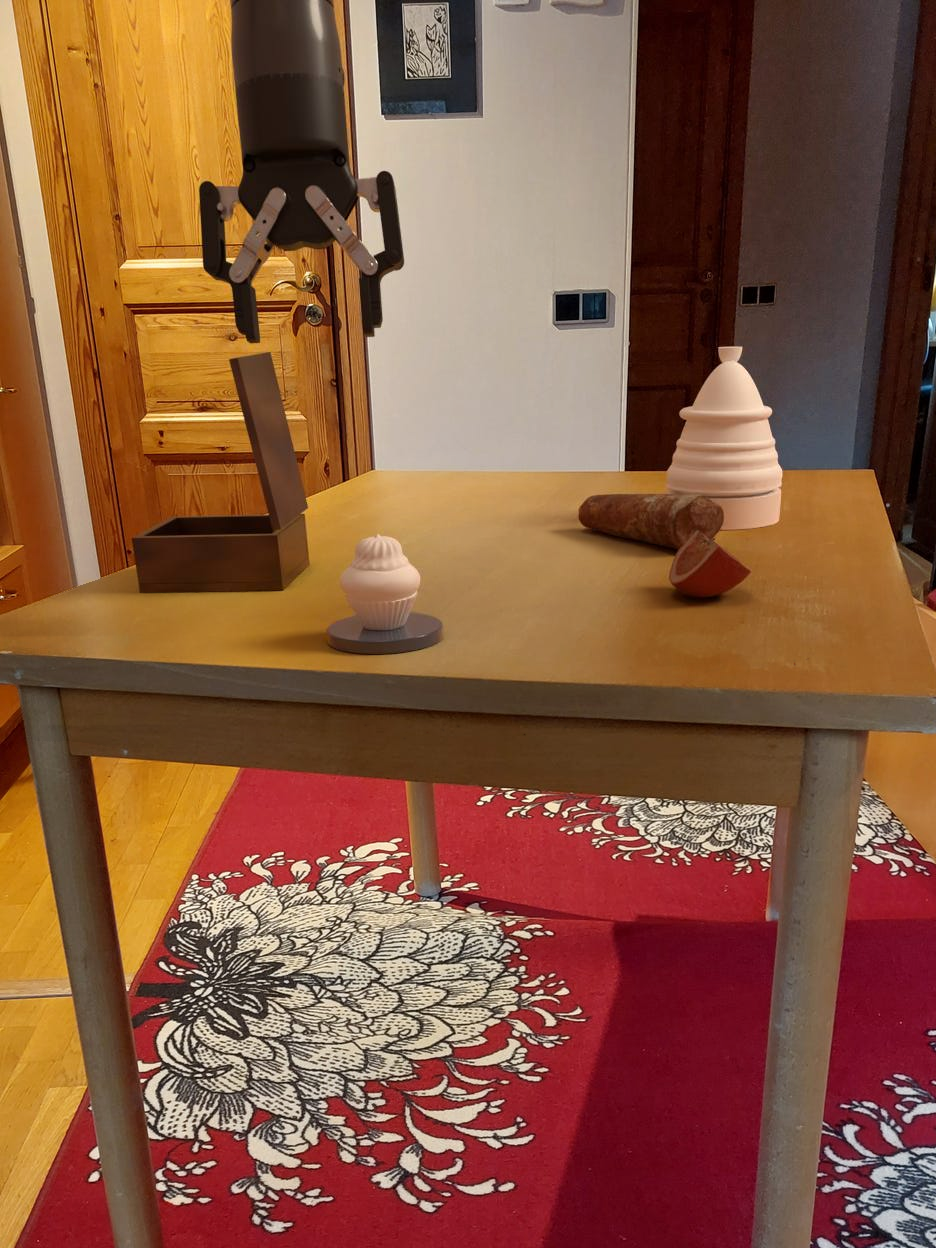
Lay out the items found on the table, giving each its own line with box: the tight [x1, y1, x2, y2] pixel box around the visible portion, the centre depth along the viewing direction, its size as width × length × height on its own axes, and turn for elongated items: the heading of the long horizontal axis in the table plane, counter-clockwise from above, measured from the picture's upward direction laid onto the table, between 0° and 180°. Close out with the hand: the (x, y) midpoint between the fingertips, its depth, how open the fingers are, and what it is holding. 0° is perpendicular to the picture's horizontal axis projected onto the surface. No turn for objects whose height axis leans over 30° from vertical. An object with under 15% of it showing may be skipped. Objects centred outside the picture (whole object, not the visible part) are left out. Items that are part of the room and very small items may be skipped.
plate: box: [326, 611, 444, 655], centre depth 91 cm, size 9×9×1 cm
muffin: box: [339, 533, 421, 631], centre depth 89 cm, size 6×6×7 cm
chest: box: [131, 513, 311, 593], centre depth 112 cm, size 14×12×5 cm
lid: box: [228, 351, 309, 531], centre depth 107 cm, size 14×12×1 cm
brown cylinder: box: [577, 493, 724, 551], centre depth 123 cm, size 6×19×6 cm, turn 31°
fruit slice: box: [668, 530, 752, 598], centre depth 99 cm, size 8×7×5 cm
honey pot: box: [664, 346, 783, 531], centre depth 129 cm, size 13×13×18 cm
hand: (311, 338), depth 86 cm, fingers open, 8 cm apart
